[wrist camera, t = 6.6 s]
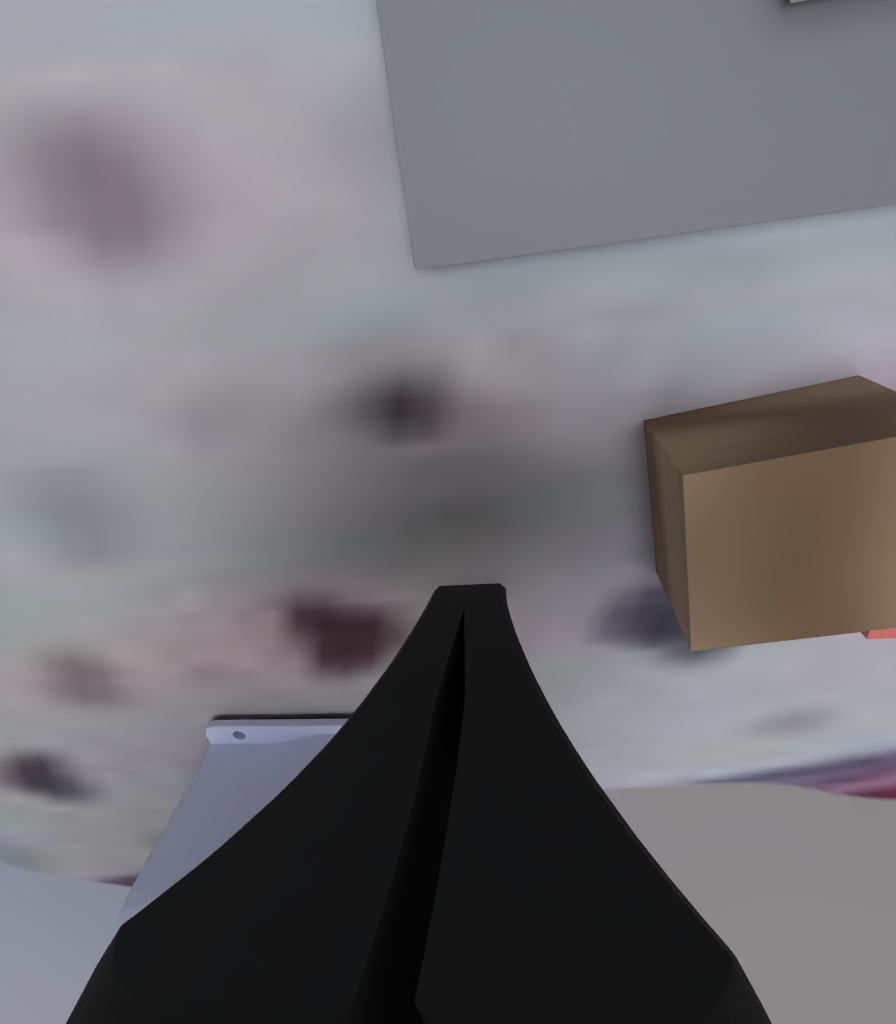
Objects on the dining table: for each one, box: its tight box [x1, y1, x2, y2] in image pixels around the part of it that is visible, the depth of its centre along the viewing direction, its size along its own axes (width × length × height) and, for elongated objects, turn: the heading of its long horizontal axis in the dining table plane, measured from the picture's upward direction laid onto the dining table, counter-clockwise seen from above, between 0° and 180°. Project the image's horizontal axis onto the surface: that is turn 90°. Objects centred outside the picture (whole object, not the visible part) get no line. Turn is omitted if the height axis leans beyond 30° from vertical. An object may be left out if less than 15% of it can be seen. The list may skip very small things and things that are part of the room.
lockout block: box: [644, 376, 896, 651], centre depth 13 cm, size 5×5×4 cm
